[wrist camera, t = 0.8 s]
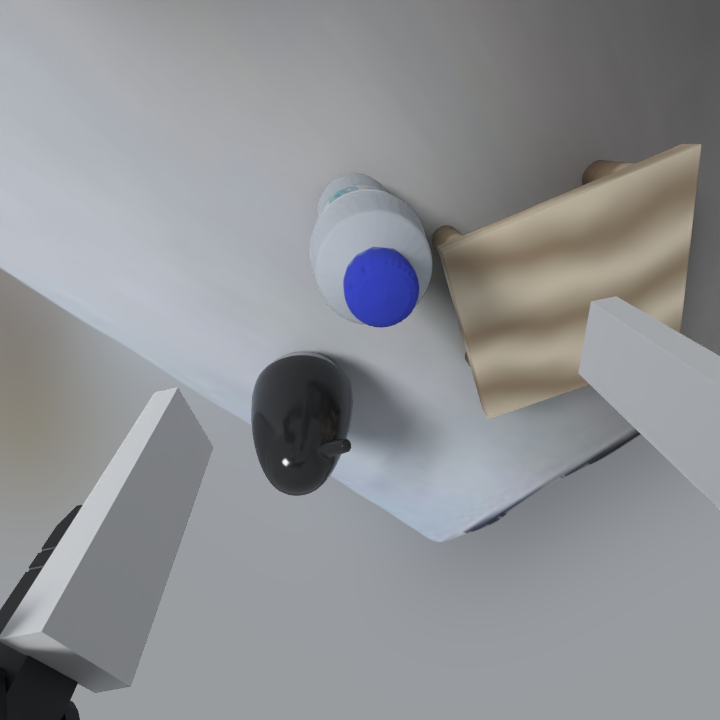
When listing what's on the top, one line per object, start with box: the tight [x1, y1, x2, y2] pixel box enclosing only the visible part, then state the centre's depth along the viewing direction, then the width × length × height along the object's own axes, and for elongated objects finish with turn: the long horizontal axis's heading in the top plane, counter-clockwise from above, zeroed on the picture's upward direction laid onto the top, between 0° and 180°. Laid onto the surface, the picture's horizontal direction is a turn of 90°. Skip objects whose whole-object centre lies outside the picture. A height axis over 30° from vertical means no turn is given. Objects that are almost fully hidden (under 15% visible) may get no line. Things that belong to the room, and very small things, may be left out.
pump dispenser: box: [251, 351, 353, 496], centre depth 35 cm, size 10×10×15 cm
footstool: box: [432, 144, 701, 419], centre depth 33 cm, size 18×18×8 cm
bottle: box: [309, 173, 432, 327], centre depth 24 cm, size 7×7×20 cm
